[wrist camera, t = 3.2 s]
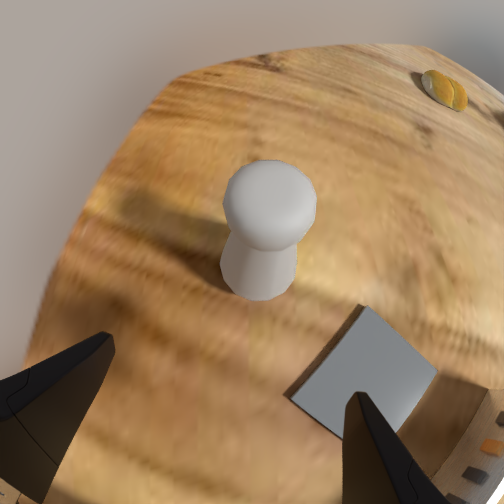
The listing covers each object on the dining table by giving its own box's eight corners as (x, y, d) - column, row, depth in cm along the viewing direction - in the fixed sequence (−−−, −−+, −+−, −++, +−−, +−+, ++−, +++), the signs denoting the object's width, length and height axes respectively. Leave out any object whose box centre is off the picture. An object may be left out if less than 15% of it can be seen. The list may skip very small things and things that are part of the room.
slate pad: (370, 458, 19) (373, 460, 18) (289, 397, 21) (291, 399, 20) (434, 370, 22) (437, 370, 21) (364, 306, 24) (367, 305, 23)
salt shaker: (215, 247, 25) (194, 150, 13) (280, 232, 26) (310, 130, 13) (232, 314, 23) (221, 269, 11) (299, 296, 24) (357, 236, 12)
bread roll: (468, 119, 35) (479, 104, 31) (428, 102, 35) (438, 85, 31) (453, 89, 37) (462, 75, 34) (415, 73, 37) (423, 57, 34)
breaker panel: (412, 516, 16) (458, 549, 8) (398, 510, 17) (444, 546, 8) (495, 396, 20) (552, 396, 12) (485, 385, 21) (545, 383, 12)
